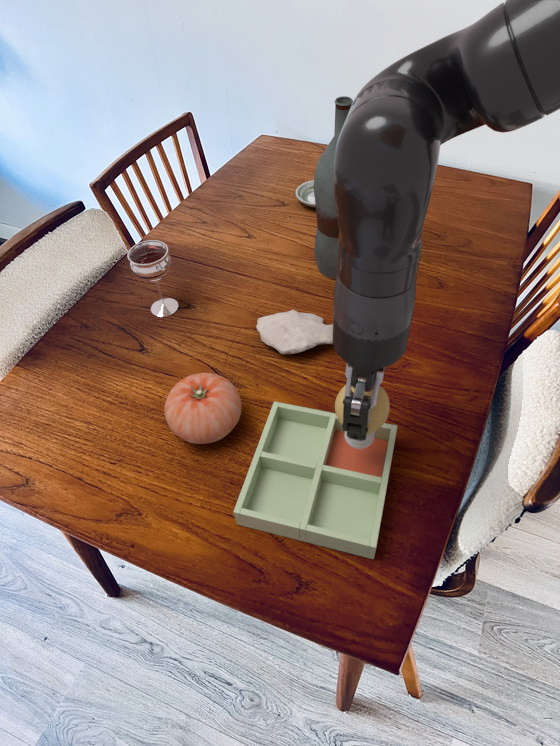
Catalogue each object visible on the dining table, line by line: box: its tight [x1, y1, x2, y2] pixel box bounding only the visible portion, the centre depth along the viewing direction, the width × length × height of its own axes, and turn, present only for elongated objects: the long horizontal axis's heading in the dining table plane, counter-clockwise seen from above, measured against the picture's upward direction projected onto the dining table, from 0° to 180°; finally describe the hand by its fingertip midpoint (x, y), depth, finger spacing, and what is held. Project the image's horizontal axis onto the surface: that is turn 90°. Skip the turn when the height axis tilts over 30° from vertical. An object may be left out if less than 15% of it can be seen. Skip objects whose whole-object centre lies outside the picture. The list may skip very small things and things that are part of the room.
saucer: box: [295, 179, 316, 208], centre depth 112 cm, size 10×10×2 cm
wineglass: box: [127, 239, 179, 318], centre depth 89 cm, size 7×7×12 cm
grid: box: [232, 401, 398, 560], centre depth 68 cm, size 17×17×4 cm
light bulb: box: [334, 383, 391, 449], centre depth 63 cm, size 6×6×10 cm
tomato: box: [163, 372, 243, 445], centre depth 73 cm, size 11×11×8 cm
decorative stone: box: [255, 309, 333, 355], centre depth 85 cm, size 11×4×15 cm
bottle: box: [313, 95, 354, 280], centre depth 87 cm, size 9×9×30 cm
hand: (362, 412), depth 62 cm, fingers closed on light bulb, 6 cm apart
